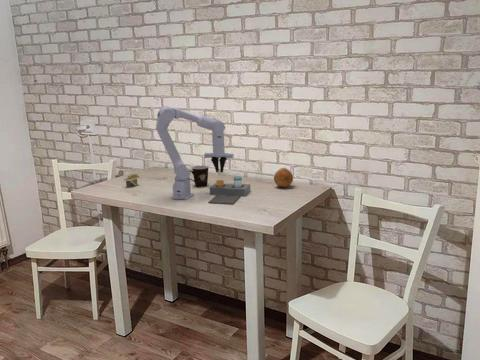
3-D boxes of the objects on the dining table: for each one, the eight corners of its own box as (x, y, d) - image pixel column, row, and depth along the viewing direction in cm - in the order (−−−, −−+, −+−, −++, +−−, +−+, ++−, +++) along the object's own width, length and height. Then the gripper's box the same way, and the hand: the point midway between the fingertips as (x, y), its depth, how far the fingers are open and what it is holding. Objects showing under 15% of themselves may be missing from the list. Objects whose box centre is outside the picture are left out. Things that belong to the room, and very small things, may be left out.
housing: (245, 196, 220) (245, 189, 219) (209, 194, 225) (208, 187, 224) (250, 190, 229) (250, 184, 228) (215, 189, 234) (215, 182, 233)
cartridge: (241, 194, 224) (240, 178, 222) (233, 194, 225) (232, 178, 223) (243, 192, 227) (242, 176, 225) (235, 192, 228) (234, 176, 226)
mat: (233, 204, 207) (233, 203, 207) (208, 203, 211) (208, 202, 210) (240, 197, 219) (240, 196, 218) (216, 196, 222) (216, 195, 222)
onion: (270, 186, 237) (270, 167, 235) (287, 183, 241) (287, 165, 238) (278, 190, 229) (278, 171, 226) (296, 188, 232) (296, 168, 230)
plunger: (222, 189, 226) (222, 181, 225) (215, 189, 227) (215, 181, 226) (224, 187, 229) (224, 180, 228) (218, 187, 230) (217, 179, 229)
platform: (153, 184, 251) (152, 172, 249) (128, 192, 236) (127, 180, 234) (137, 182, 257) (136, 170, 255) (112, 189, 242) (111, 177, 241)
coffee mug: (210, 183, 246) (209, 165, 244) (207, 187, 238) (207, 169, 236) (189, 183, 248) (188, 165, 245) (186, 187, 239) (184, 169, 237)
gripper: (235, 143, 224) (235, 170, 228) (207, 143, 228) (208, 169, 232) (230, 146, 218) (231, 173, 221) (202, 145, 222) (203, 173, 225)
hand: (219, 172), depth 226 cm, fingers closed
